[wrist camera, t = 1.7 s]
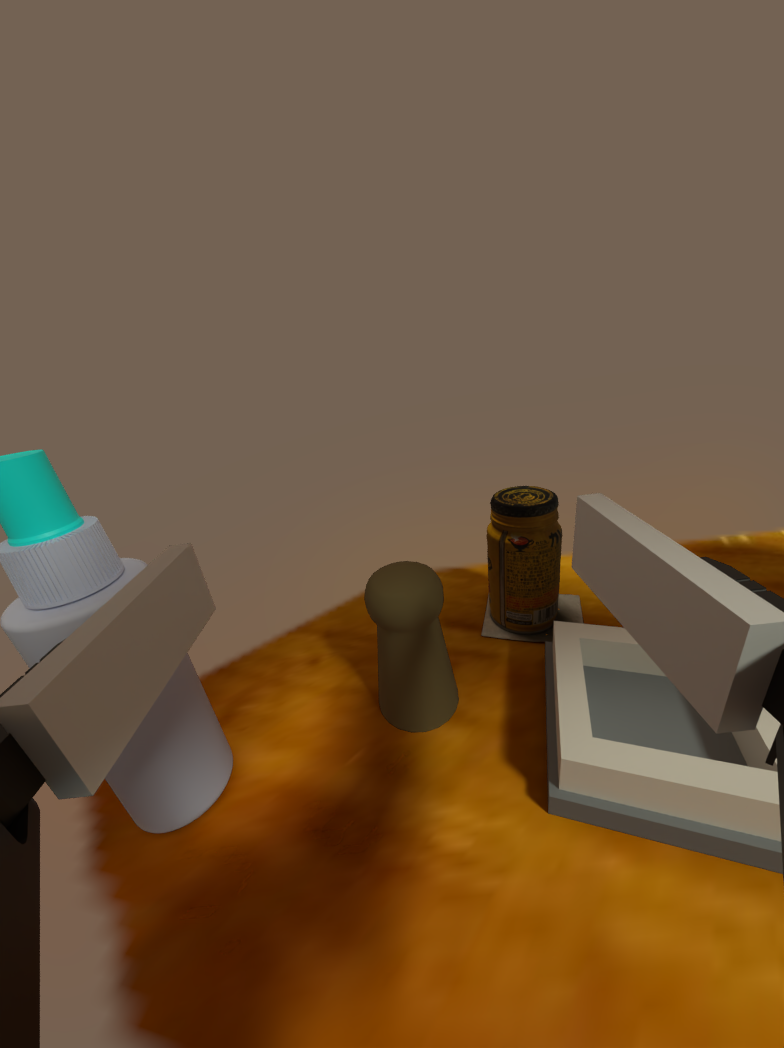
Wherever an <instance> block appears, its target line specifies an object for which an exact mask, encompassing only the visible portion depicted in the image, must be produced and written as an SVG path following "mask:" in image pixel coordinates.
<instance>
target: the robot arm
mask: <svg viewBox="0 0 784 1048" xmlns="http://www.w3.org/2000/svg"><path fill="white" fill-rule="evenodd" d="M572 568H573V569H574V571H575V572H576V573H577V574H578V575H579V576H580V577H581V579H582V580H583V581H584V582H585V583H586V584H587V585H588V587H589V588H590V589H591V590H592V591H593V592H594V594H595V595H596V596H597V597H598V598H599V599H600V600H601V602H602V603H603V604H604V605H605V606H606V607H607V608H608V610H609V611H610V612H611V613H612V614H613V615H614V617H615V618H616V619H617V620H618V621H619V622H620V623H621V625H622V626H623V627H624V628H625V629H626V630H627V631H628V633H629V634H630V635H631V636H632V637H633V638H634V639H635V641H636V642H637V643H638V644H639V645H640V646H641V648H642V649H643V650H644V651H645V652H646V653H647V654H648V656H649V657H650V658H651V659H652V660H653V661H654V662H655V664H656V665H657V666H658V667H659V668H660V669H661V671H662V672H663V673H664V674H665V675H666V676H667V677H668V679H669V680H670V681H671V682H672V683H673V684H674V685H675V687H676V688H677V689H678V690H679V691H680V692H681V694H682V695H683V696H684V697H685V698H686V699H687V700H688V702H689V703H690V704H691V705H692V706H693V707H694V708H695V710H696V711H697V712H698V713H699V714H700V715H701V717H702V718H703V719H704V720H705V721H706V722H707V723H708V725H709V726H710V727H711V728H712V729H713V730H714V731H715V733H716V734H717V733H727V732H737V731H747V730H755V728H756V725H757V723H758V720H759V717H760V715H761V712H762V709H763V708H764V709H766V710H767V711H768V712H769V713H770V714H771V715H772V716H773V717H774V718H775V719H776V720H777V721H778V722H779V723H780V726H779V729H778V731H777V734H776V736H775V739H774V741H773V744H772V746H771V748H770V751H769V753H768V756H767V759H766V762H765V763H767V764H769V765H772V766H773V764H774V762H775V759H776V758H777V772H778V790H779V808H780V826H781V844H782V862H783V880H784V599H783V598H781V597H780V596H778V595H776V594H775V593H773V592H771V591H767V590H766V588H765V587H763V586H762V585H760V584H759V583H757V582H755V581H754V580H753V581H750V578H749V577H747V576H746V575H744V574H742V573H741V572H739V571H738V570H736V569H734V568H733V567H731V566H729V565H726V564H724V563H721V562H718V561H716V560H713V559H710V558H707V557H700V558H699V557H698V556H696V555H695V554H693V553H692V552H690V551H689V550H687V549H686V548H684V547H683V546H681V545H680V544H678V543H676V542H675V541H673V540H672V539H670V538H669V537H667V536H666V535H664V534H663V533H661V532H659V531H658V530H656V529H655V528H653V527H652V526H650V525H649V524H647V523H646V522H644V521H643V520H641V519H640V518H638V517H637V516H635V515H634V514H632V513H630V512H629V511H627V510H626V509H624V508H623V507H621V506H620V505H618V504H617V503H615V502H614V501H612V500H611V499H609V498H607V497H606V496H604V495H603V494H601V493H596V494H588V495H581V496H577V504H576V517H575V531H574V544H573V558H572ZM215 609H216V607H215V605H214V602H213V599H212V597H211V594H210V591H209V589H208V586H207V583H206V581H205V578H204V576H203V573H202V570H201V568H200V566H199V563H198V560H197V557H196V554H195V552H194V549H193V546H192V544H191V543H187V544H180V545H171V546H169V547H168V548H166V549H165V550H164V551H163V552H162V553H161V554H160V555H159V556H157V557H156V559H154V560H153V561H152V562H151V563H150V564H149V565H147V566H146V567H145V568H144V569H143V570H142V571H141V572H140V573H139V574H137V575H136V576H135V577H134V578H133V579H132V580H131V581H130V582H129V583H127V584H126V585H125V586H124V587H123V588H122V589H121V590H120V591H119V592H117V593H116V594H115V595H114V596H113V597H112V598H111V599H110V600H109V601H107V602H106V603H105V604H104V605H103V606H102V607H101V608H100V609H99V610H97V611H96V612H95V613H94V614H93V615H92V616H91V617H90V618H89V619H87V620H86V621H85V622H84V623H83V624H82V625H81V626H80V627H79V628H77V629H76V630H75V631H74V632H73V633H72V634H71V635H70V636H69V637H67V638H66V639H65V640H63V641H61V642H60V643H58V644H57V645H56V646H54V647H53V648H52V649H51V650H50V651H49V652H48V653H47V654H45V655H44V656H43V657H42V658H41V659H40V662H39V663H35V664H34V665H33V666H32V667H31V668H30V669H29V670H28V671H27V672H26V673H25V676H21V677H20V678H19V679H17V680H16V681H15V682H14V683H13V684H12V685H11V686H10V687H9V688H7V689H6V690H5V691H4V692H3V693H2V694H1V695H0V1048H40V1041H39V1040H40V1025H39V1024H40V809H39V807H38V805H37V803H36V802H35V801H34V799H33V798H32V797H33V796H34V795H35V794H36V792H37V791H38V790H39V789H40V787H41V786H42V785H43V784H44V782H46V783H47V785H48V786H49V787H50V789H51V790H52V791H53V792H54V794H55V795H56V796H57V798H58V799H67V798H77V797H87V796H93V795H94V794H95V792H96V791H97V789H98V788H99V786H100V785H101V783H102V782H103V780H104V778H105V777H106V775H107V774H108V772H109V771H110V769H111V768H112V766H113V765H114V763H115V762H116V760H117V759H118V757H119V756H120V754H121V753H122V751H123V750H124V748H125V747H126V745H127V743H128V742H129V740H130V739H131V737H132V736H133V734H134V733H135V731H136V730H137V728H138V727H139V725H140V724H141V722H142V721H143V719H144V718H145V716H146V715H147V713H148V711H149V710H150V708H151V707H152V705H153V704H154V702H155V701H156V699H157V698H158V696H159V695H160V693H161V692H162V690H163V689H164V687H165V686H166V684H167V683H168V681H169V680H170V678H171V676H172V675H173V673H174V672H175V670H176V669H177V667H178V666H179V664H180V663H181V661H182V660H183V658H184V657H185V655H186V654H187V652H188V651H189V649H190V647H191V646H192V644H193V643H194V641H195V640H196V638H197V636H198V635H199V634H200V632H201V631H202V629H203V628H204V626H205V625H206V623H207V622H208V620H209V619H210V617H211V616H212V614H213V612H214V611H215Z"/></svg>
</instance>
